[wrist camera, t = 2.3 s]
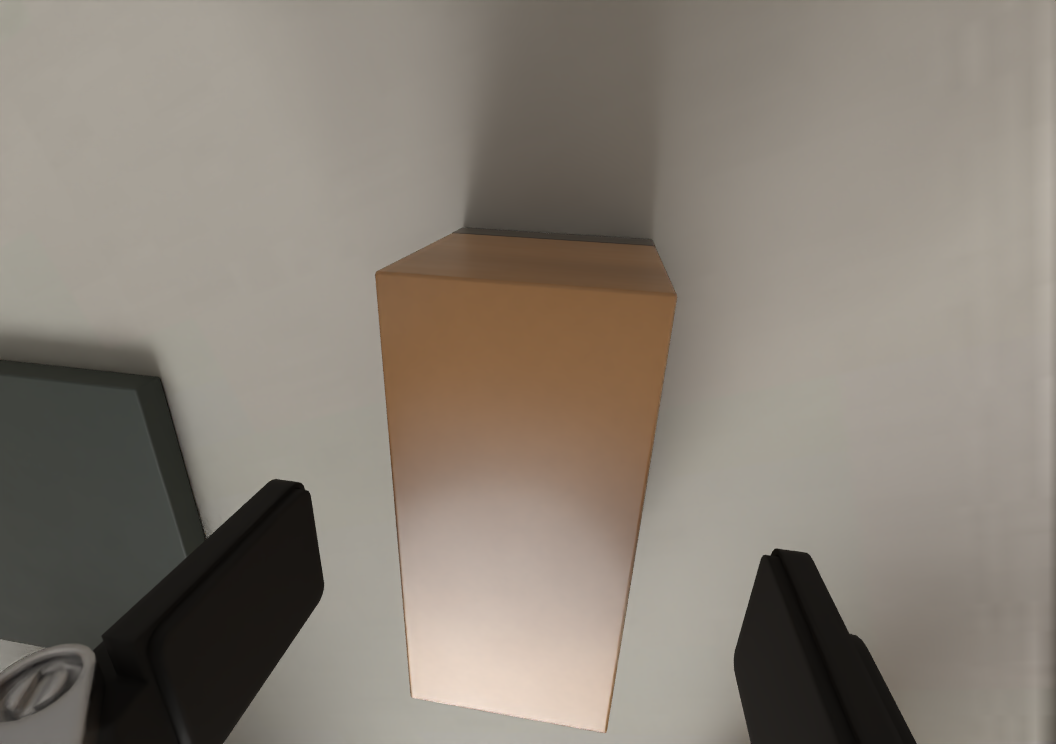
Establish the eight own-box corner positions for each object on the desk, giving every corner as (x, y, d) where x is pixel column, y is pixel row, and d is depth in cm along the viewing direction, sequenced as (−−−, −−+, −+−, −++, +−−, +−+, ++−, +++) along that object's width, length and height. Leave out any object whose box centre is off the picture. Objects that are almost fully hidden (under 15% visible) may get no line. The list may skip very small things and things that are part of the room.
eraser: (461, 227, 13) (373, 271, 8) (652, 238, 13) (678, 294, 8) (466, 546, 18) (409, 698, 13) (608, 566, 17) (606, 734, 12)
